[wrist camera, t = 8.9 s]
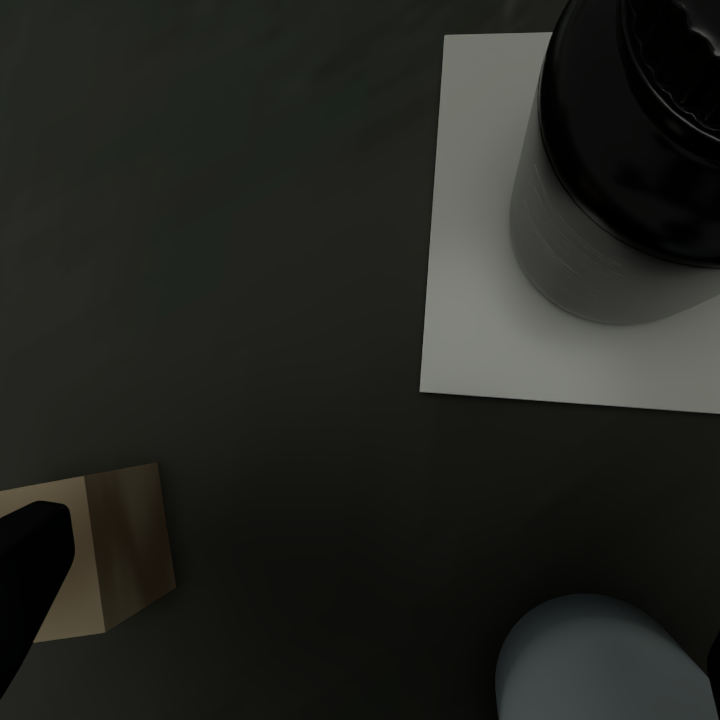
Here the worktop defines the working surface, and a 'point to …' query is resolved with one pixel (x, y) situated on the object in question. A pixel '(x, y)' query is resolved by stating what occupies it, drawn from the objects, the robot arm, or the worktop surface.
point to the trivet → (508, 279)
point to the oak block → (106, 548)
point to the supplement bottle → (624, 161)
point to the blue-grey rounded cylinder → (597, 666)
